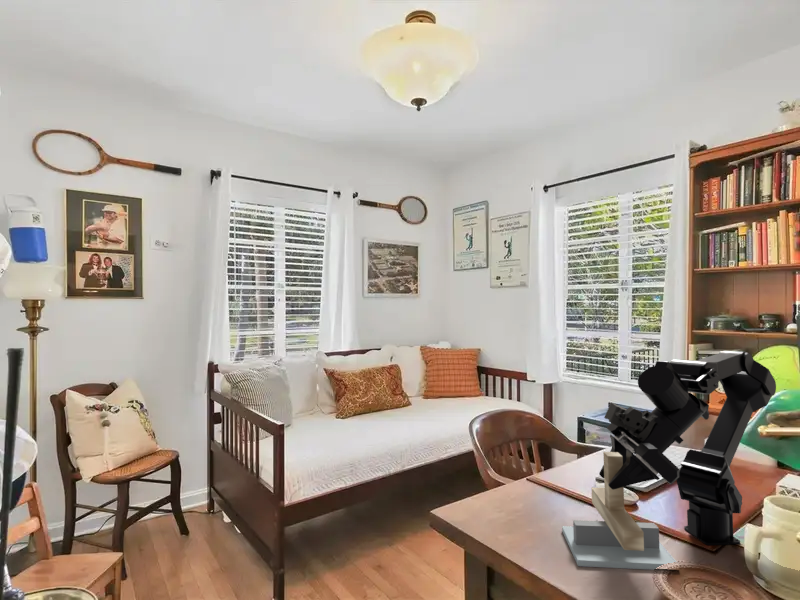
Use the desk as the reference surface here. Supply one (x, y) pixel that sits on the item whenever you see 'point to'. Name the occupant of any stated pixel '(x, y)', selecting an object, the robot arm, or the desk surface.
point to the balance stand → (614, 547)
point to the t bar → (616, 507)
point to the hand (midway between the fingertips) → (605, 481)
